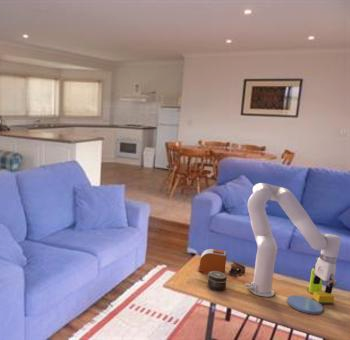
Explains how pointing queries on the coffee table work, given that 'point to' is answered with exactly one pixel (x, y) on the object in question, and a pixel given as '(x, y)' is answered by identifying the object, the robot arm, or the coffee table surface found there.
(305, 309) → the plate
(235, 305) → the coffee table surface
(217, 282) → the jar
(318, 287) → the soap dispenser
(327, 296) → the sponge
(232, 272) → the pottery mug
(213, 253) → the brown toaster
